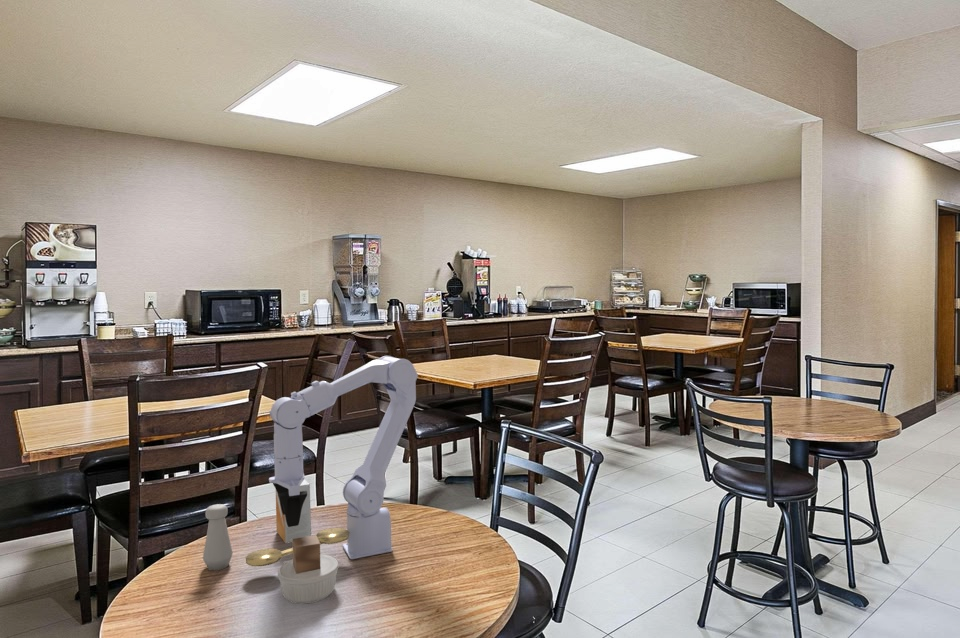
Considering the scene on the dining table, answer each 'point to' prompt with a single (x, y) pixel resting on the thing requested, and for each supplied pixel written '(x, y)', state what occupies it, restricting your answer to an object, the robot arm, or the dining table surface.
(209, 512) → the salt shaker
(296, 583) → the ramekin
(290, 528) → the small box
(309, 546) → the block
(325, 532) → the balance
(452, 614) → the dining table surface
